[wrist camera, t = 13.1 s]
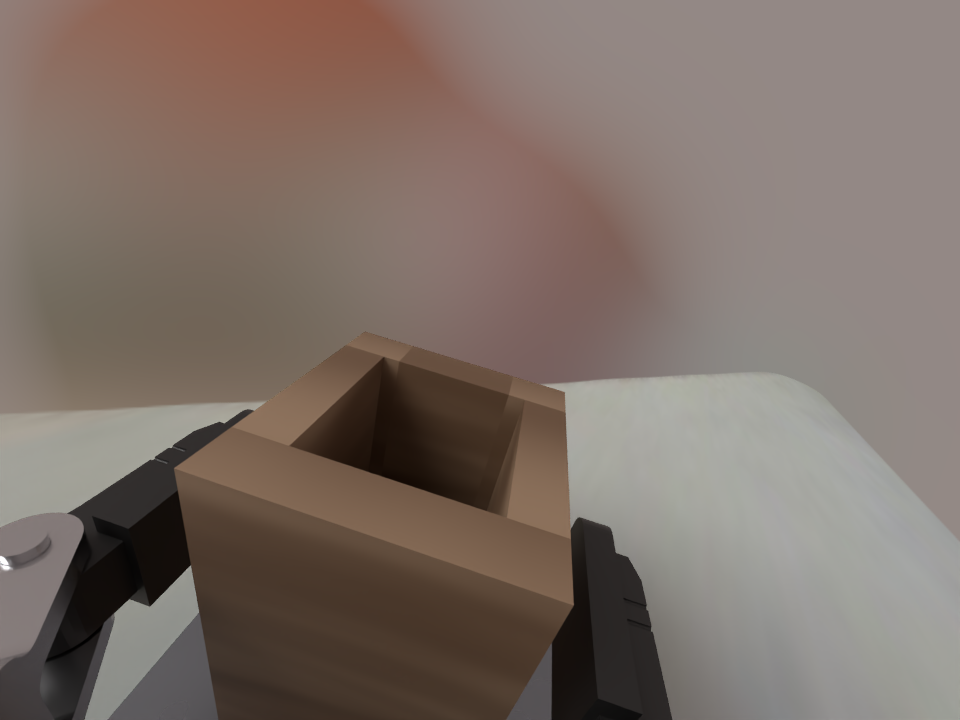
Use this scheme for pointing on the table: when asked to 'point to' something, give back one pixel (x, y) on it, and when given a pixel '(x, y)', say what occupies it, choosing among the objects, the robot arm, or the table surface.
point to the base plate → (190, 698)
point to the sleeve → (382, 541)
